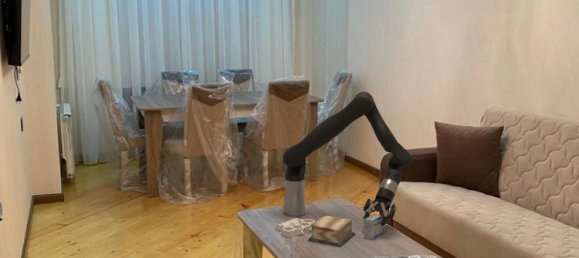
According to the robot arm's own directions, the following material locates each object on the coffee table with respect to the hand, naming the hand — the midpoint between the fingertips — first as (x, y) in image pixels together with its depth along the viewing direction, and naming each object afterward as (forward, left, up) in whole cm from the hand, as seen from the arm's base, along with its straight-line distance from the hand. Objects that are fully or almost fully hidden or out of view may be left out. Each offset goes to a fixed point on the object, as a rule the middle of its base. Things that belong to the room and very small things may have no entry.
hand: (373, 223), depth 253 cm
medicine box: (0, 0, -6) cm, 6 cm away
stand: (-15, -10, -6) cm, 19 cm away
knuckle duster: (-33, -9, -6) cm, 35 cm away
